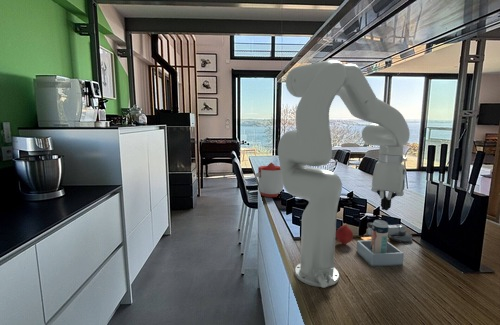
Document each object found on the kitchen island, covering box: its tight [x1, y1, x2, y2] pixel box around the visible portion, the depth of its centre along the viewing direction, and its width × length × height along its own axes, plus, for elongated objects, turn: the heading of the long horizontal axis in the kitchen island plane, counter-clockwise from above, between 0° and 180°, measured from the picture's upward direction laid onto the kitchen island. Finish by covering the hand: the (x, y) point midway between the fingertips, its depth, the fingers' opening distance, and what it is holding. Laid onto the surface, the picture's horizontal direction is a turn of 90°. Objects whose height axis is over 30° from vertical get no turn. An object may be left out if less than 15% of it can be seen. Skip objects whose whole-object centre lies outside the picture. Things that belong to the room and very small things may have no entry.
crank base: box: [360, 231, 413, 244], centre depth 108 cm, size 8×19×2 cm, turn 96°
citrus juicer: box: [254, 162, 284, 198], centre depth 169 cm, size 16×17×20 cm
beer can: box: [370, 219, 389, 254], centre depth 93 cm, size 5×5×12 cm
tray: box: [355, 240, 405, 268], centre depth 93 cm, size 10×10×4 cm
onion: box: [335, 223, 354, 246], centre depth 103 cm, size 6×6×8 cm
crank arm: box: [366, 222, 407, 237], centre depth 108 cm, size 15×4×4 cm, turn 94°
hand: (385, 209), depth 103 cm, fingers closed
